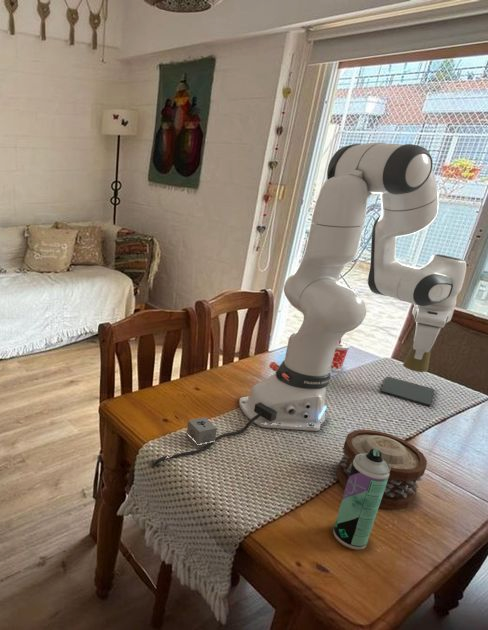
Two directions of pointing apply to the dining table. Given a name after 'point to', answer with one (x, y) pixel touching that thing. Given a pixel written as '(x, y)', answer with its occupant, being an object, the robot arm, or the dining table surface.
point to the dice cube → (201, 431)
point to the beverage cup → (339, 356)
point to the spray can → (361, 499)
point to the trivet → (408, 391)
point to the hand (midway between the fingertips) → (418, 354)
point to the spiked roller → (400, 458)
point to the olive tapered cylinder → (417, 360)
